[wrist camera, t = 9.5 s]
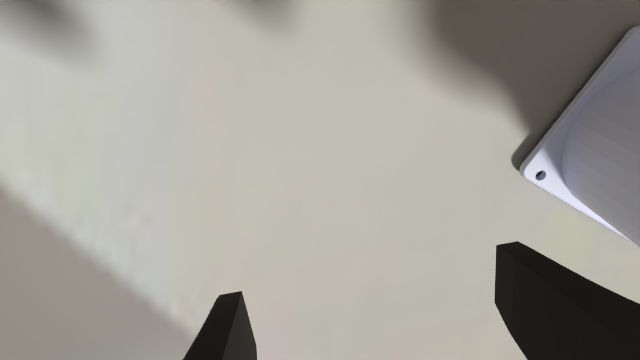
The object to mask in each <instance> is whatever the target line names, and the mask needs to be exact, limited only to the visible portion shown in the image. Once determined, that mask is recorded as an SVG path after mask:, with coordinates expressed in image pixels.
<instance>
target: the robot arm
mask: <svg viewBox="0 0 640 360" xmlns="http://www.w3.org/2000/svg"><path fill="white" fill-rule="evenodd" d="M539 171H542V173H541V174H540V175H539V176H538V177H536V174H537V173H538V172H539ZM520 174H521V175H522V176H523V177H524V178H525V179H527V180H528V181H530V182H532V183H533V184H535V185H537V186H538V187H540V188H542V189H543V190H545V191H547V192H548V193H550V194H552V195H553V196H555V197H557V198H558V199H560V200H562V201H563V202H565V203H567V204H569V205H570V206H572V207H574V208H575V209H577V210H579V211H580V212H582V213H584V214H585V215H587V216H589V217H590V218H592V219H594V220H595V221H597V222H599V223H600V224H602V225H604V226H605V227H607V228H609V229H610V230H612V231H614V232H615V233H617V234H619V235H620V236H622V237H624V238H625V239H627V240H629V241H630V242H632V243H634V244H635V245H637V246H639V247H640V26H635V27H633V28H631V29H630V30H629V31H628V32H627V33H626V35H625V36H624V37H623V38H622V40H621V41H620V42H619V43H618V45H617V46H616V47H615V48H614V50H613V51H612V52H611V53H610V55H609V56H608V57H607V58H606V60H605V61H604V62H603V63H602V65H601V66H600V67H599V68H598V70H597V71H596V72H595V73H594V75H593V76H592V77H591V78H590V80H589V81H588V82H587V83H586V85H585V86H584V87H583V88H582V90H581V91H580V92H579V93H578V95H577V96H576V97H575V98H574V99H573V101H572V102H571V103H570V104H569V106H568V107H567V108H566V109H565V111H564V112H563V113H562V114H561V116H560V117H559V118H558V119H557V121H556V122H555V123H554V124H553V126H552V127H551V128H550V129H549V131H548V132H547V133H546V134H545V136H544V137H543V138H542V139H541V141H540V142H539V143H538V144H537V146H536V147H535V148H534V149H533V151H532V152H531V153H530V154H529V156H528V157H527V158H526V159H525V161H524V162H523V163H522V165H521V166H520ZM495 304H496V306H497V308H498V310H499V312H500V314H501V316H502V319H503V321H504V322H505V324H506V326H507V328H508V330H509V332H510V334H511V335H512V337H513V339H514V340H515V342H516V343H517V345H518V346H519V348H520V349H521V351H522V352H523V354H524V355H525V357H526V358H527V359H528V360H640V304H638V303H636V302H634V301H632V300H629V299H627V298H625V297H623V296H621V295H619V294H617V293H614V292H612V291H610V290H608V289H606V288H604V287H602V286H600V285H598V284H596V283H594V282H592V281H590V280H588V279H586V278H584V277H582V276H581V275H579V274H577V273H575V272H573V271H571V270H569V269H568V268H566V267H564V266H562V265H560V264H558V263H557V262H555V261H553V260H551V259H549V258H548V257H546V256H544V255H542V254H540V253H539V252H537V251H535V250H533V249H531V248H530V247H528V246H526V245H524V244H522V243H520V242H518V241H517V242H512V243H506V244H501V245H497V246H496V276H495ZM183 360H257V350H256V343H255V339H254V336H253V332H252V328H251V324H250V321H249V317H248V313H247V309H246V306H245V302H244V298H243V294H242V291H240V292H234V293H229V294H223V295H219V297H218V298H217V299H216V301H215V303H214V305H213V307H212V309H211V311H210V313H209V315H208V317H207V319H206V321H205V322H204V324H203V326H202V328H201V330H200V332H199V333H198V335H197V337H196V339H195V340H194V342H193V344H192V345H191V347H190V349H189V350H188V352H187V354H186V355H185V357H184V359H183Z"/></svg>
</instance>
